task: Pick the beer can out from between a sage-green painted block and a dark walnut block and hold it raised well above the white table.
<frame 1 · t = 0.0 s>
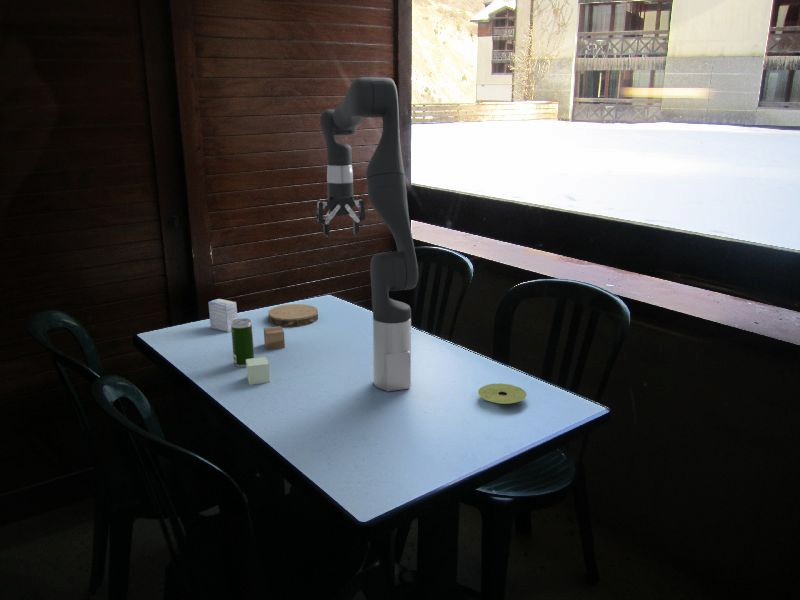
hand: (341, 235, 196), 29 cm above the table, fingers open, 8 cm apart
beer can: (244, 364, 177), on the table
olive yellow disc: (501, 401, 155), on the table
round wood slice: (293, 320, 214), on the table
sage block: (258, 379, 167), on the table
walnut block: (274, 346, 190), on the table
medicine box: (224, 329, 205), on the table
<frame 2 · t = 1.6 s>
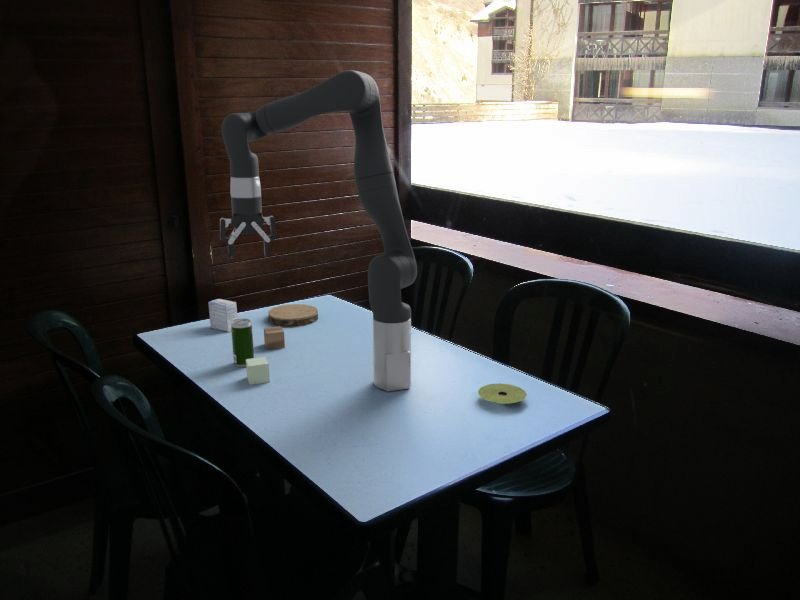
hand: (249, 256, 172), 29 cm above the table, fingers open, 8 cm apart
nothing on the table moved.
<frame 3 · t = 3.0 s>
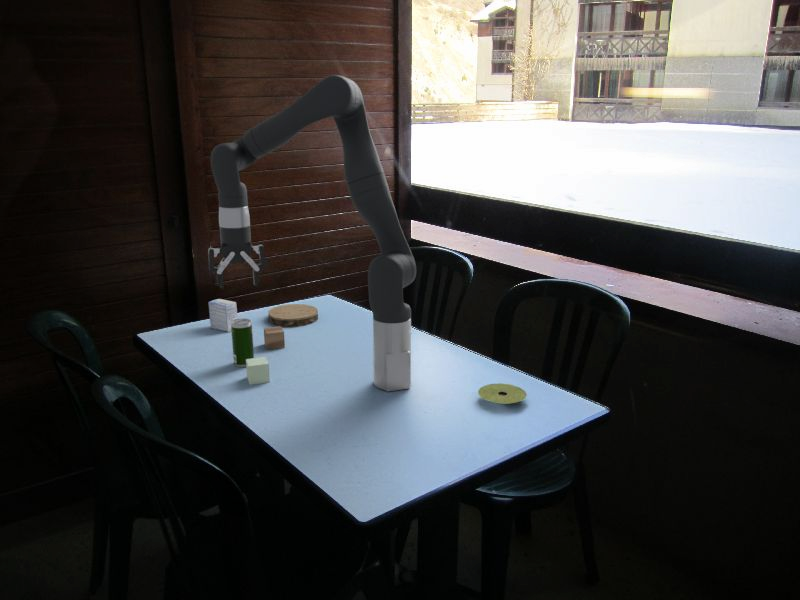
hand: (238, 286, 171), 22 cm above the table, fingers open, 8 cm apart
nothing on the table moved.
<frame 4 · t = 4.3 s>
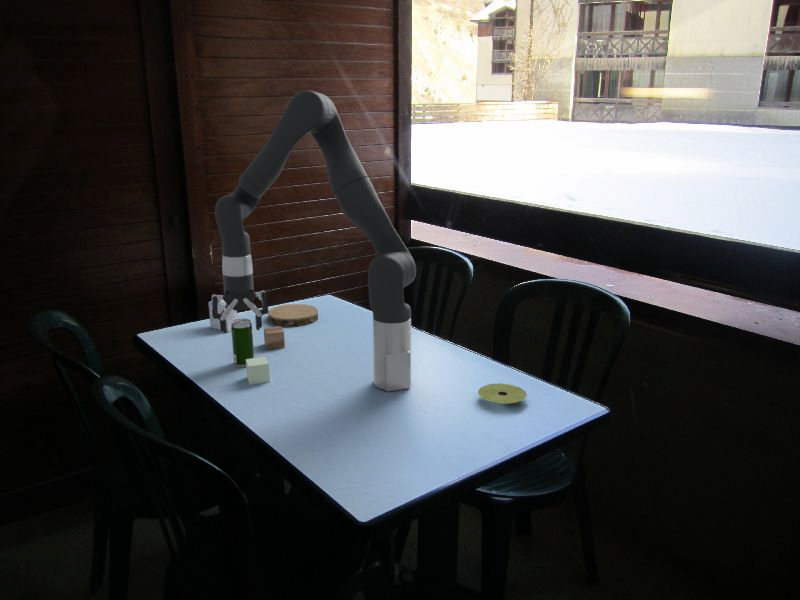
hand: (241, 331, 174), 9 cm above the table, fingers open, 8 cm apart
nothing on the table moved.
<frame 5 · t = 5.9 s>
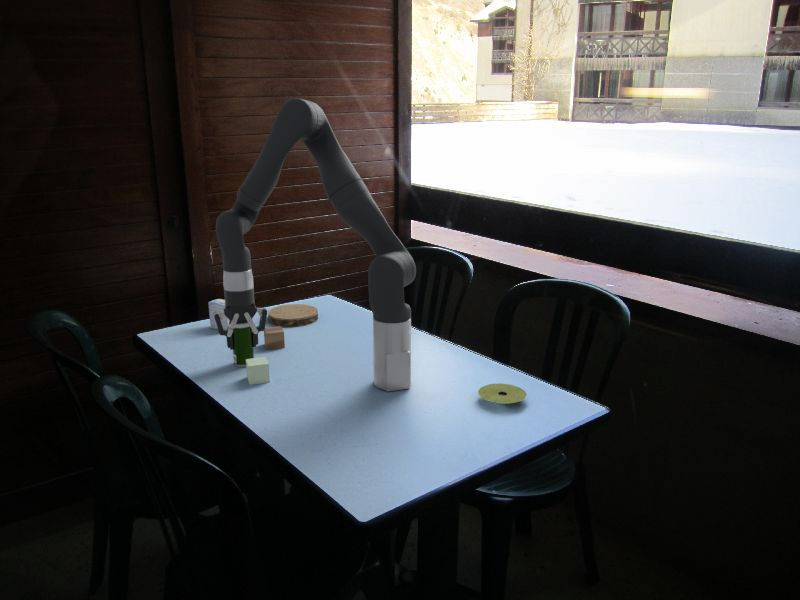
hand: (243, 347, 175), 5 cm above the table, fingers closed on beer can, 5 cm apart
beer can: (244, 364, 177), on the table, touching gripper
everything else where it was.
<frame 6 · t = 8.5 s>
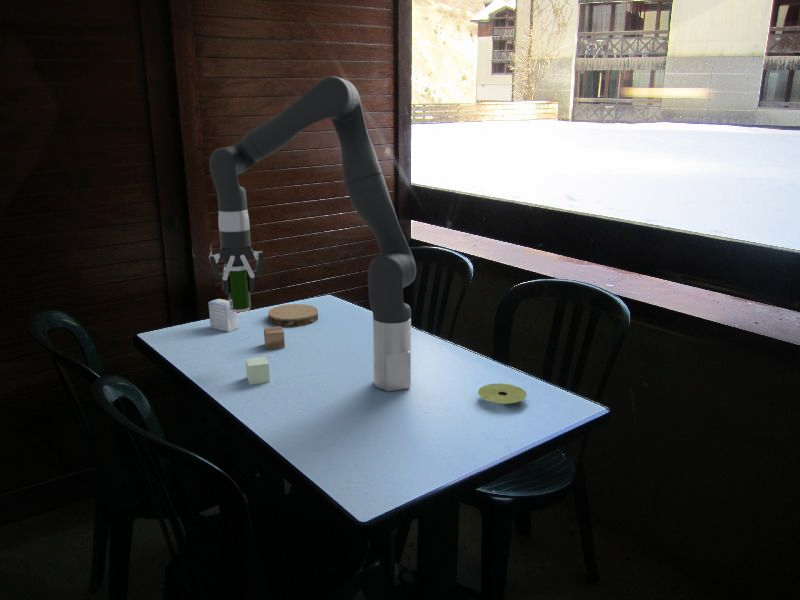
hand: (239, 292, 171), 20 cm above the table, fingers closed on beer can, 5 cm apart
beer can: (240, 310, 172), point 15 cm above the table, touching gripper
everything else where it was.
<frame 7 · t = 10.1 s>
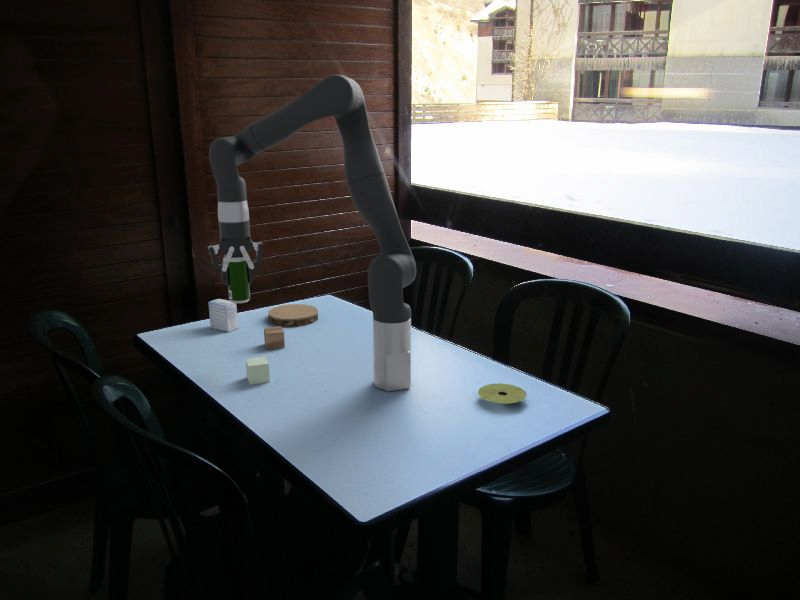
hand: (238, 283, 170), 22 cm above the table, fingers closed on beer can, 5 cm apart
beer can: (240, 301, 172), point 17 cm above the table, touching gripper
everything else where it was.
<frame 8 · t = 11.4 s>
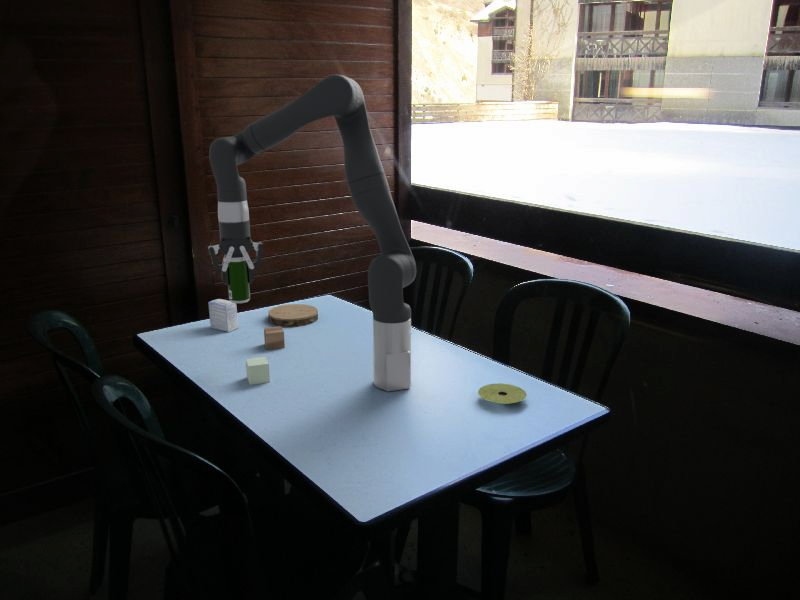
hand: (238, 283, 170), 22 cm above the table, fingers closed on beer can, 5 cm apart
beer can: (240, 301, 172), point 17 cm above the table, touching gripper
everything else where it was.
at the end: the gripper is holding beer can; beer can point 17.4 cm above the table; sage block moved 0.1 cm from its start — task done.
